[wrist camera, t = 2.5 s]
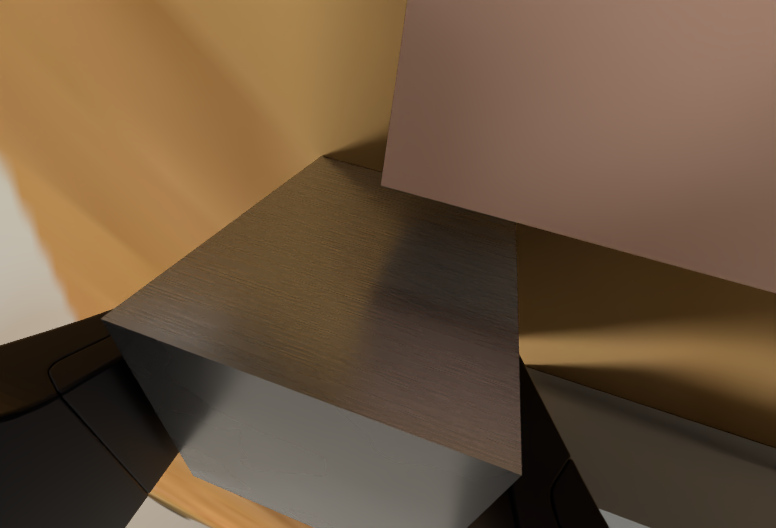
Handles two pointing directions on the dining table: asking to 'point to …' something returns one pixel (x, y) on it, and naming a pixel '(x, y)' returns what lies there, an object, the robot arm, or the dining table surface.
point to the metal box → (340, 354)
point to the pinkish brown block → (598, 123)
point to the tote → (660, 462)
